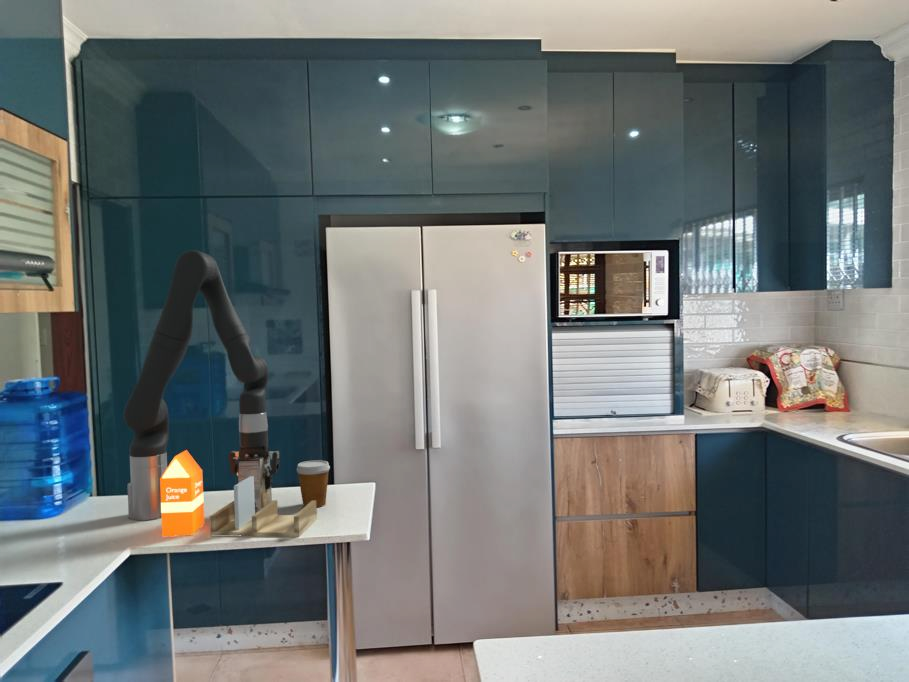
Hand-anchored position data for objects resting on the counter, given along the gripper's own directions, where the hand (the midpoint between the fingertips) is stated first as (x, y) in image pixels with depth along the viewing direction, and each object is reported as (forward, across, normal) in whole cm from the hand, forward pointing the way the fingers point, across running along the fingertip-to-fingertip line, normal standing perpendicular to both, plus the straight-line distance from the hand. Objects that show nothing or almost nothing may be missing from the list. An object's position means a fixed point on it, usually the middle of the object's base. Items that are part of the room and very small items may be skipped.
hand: (255, 488), depth 179 cm
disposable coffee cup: (+7, +14, +8) cm, 18 cm away
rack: (+7, +8, -12) cm, 16 cm away
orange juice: (+7, -13, -15) cm, 21 cm away
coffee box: (+7, 0, 0) cm, 7 cm away
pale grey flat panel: (+7, +2, -12) cm, 14 cm away
